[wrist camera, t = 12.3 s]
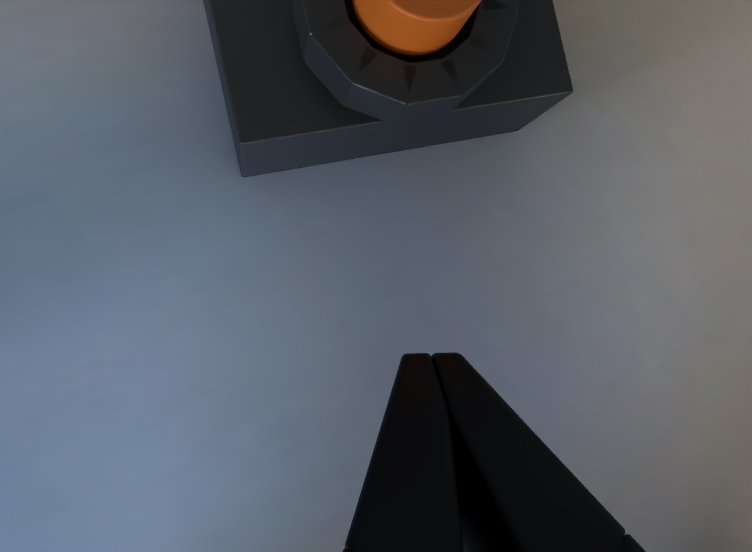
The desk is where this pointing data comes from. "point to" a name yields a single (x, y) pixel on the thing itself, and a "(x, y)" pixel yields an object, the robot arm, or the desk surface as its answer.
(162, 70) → the desk surface
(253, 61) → the push button box
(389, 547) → the robot arm
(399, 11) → the orange push button
